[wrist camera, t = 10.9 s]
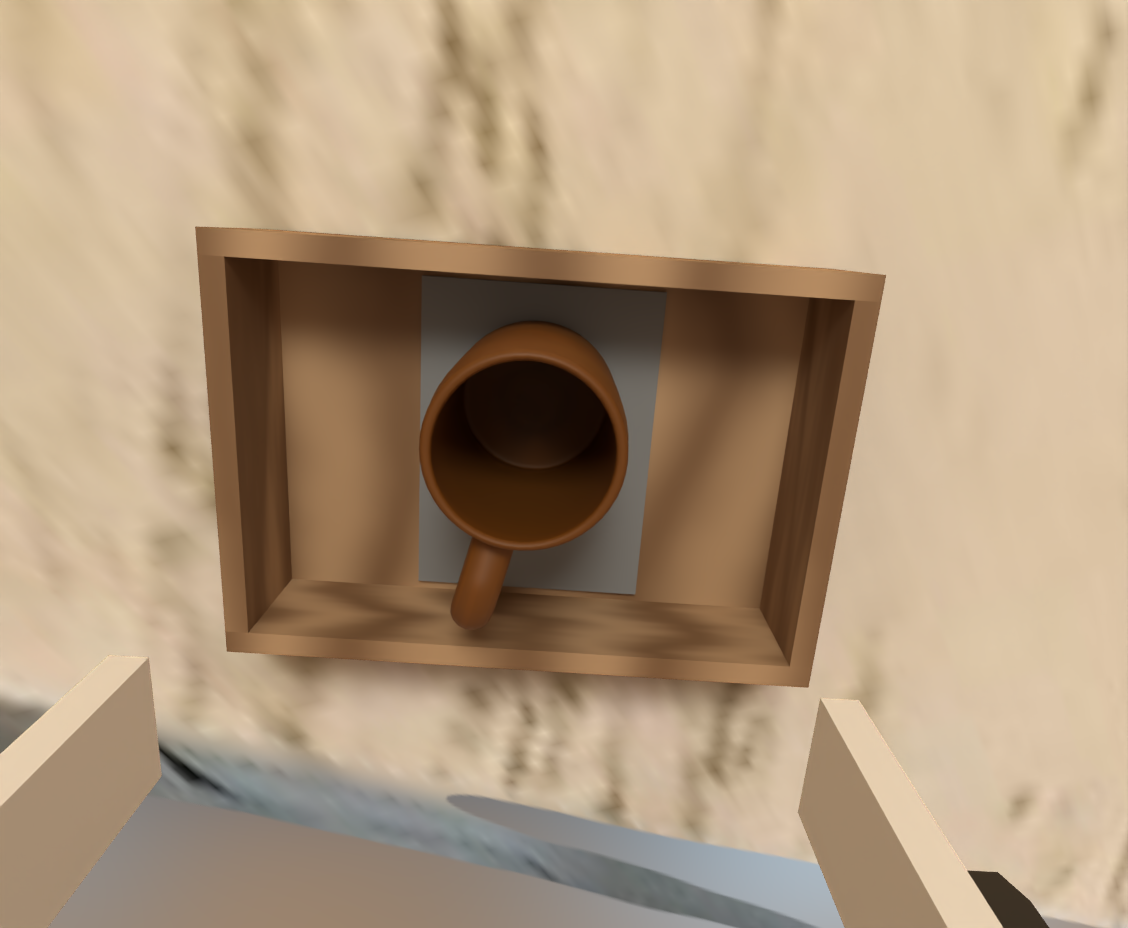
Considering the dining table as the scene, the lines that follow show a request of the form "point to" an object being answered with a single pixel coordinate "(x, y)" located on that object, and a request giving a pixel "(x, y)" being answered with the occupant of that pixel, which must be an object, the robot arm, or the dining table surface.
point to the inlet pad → (632, 353)
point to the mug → (522, 451)
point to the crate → (392, 465)
